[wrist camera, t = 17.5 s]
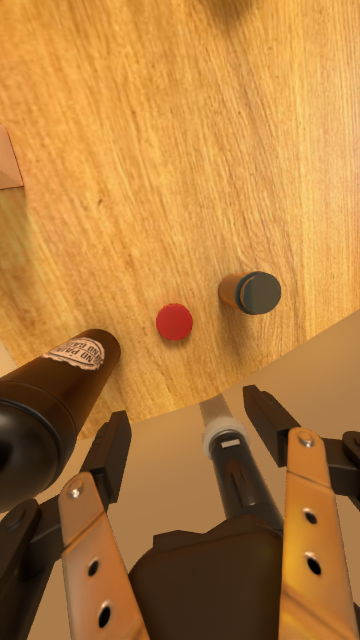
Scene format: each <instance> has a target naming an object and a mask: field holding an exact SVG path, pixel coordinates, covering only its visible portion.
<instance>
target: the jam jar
mask: <svg viewBox="0 0 360 640" xmlns="http://www.w3.org/2000/svg"><path fill="white" fill-rule="evenodd" d="M218 294H219V297H220V299H221V301H222V302H223V303H224V304H226V305H228V306H230V307H232V308H235V309H237V310H239V311H242V312H244V313H246V314H250V315H257V314H265V313H268V312H270V311H271V310H273V309H274V308H275V307H276V305H277V304H278V302H279V300H280V297H281V286H280V284H279V282H278V281H277V279H276V278H275V277H274V276H273V275H270V274H267V273H264V272H260V271H255V272H245V273H234V274H230V275H228V276H226V277H225V278H224V279H223V280H222V281H221V283H220V285H219V289H218Z"/></svg>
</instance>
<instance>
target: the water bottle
mask: <svg viewBox="0 0 360 640" xmlns="http://www.w3.org/2000/svg"><path fill="white" fill-rule="evenodd" d="M119 357H120V345H119V343H118V341H117V340H116V338H115V337H114V336H113V335H112V334H110V333H109V332H107V331H104V330H101V329H90V330H87V331H85V332H83V333H81V334H79V335H77V336H75V337H74V338H72V339H70V340H68V341H66V342H65V343H63V344H61V345H59V346H57V347H56V348H54V349H52V350H50V351H48V352H46V353H44V354H43V355H41V356H39V357H37V358H36V359H34V360H32V361H30V362H28V363H27V364H25V365H23V366H21V367H19V368H18V369H16V370H14V371H12V372H10V373H8V374H7V375H5V376H3V377H1V378H0V513H4V512H7V511H10V510H12V509H13V508H14V507H15V506H17V505H18V504H19V503H21V502H23V501H25V500H27V499H33V498H34V497H36V496H37V495H38V494H39V493H41V492H43V491H45V490H46V489H47V488H49V487H50V486H51V485H52V484H53V483H54V482H55V481H56V480H57V478H58V477H59V476H60V475H61V473H62V471H63V469H64V467H65V465H66V464H67V462H68V460H69V458H70V457H71V455H72V453H73V450H74V447H75V444H76V440H77V436H78V434H79V432H80V430H81V428H82V427H83V425H84V423H85V421H86V419H87V417H88V415H89V414H90V412H91V410H92V408H93V406H94V404H95V402H96V401H97V399H98V397H99V395H100V393H101V391H102V389H103V388H104V386H105V384H106V382H107V380H108V378H109V376H110V375H111V373H112V371H113V369H114V367H115V365H116V363H117V362H118V360H119Z"/></svg>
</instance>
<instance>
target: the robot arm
mask: <svg viewBox="0 0 360 640" xmlns="http://www.w3.org/2000/svg"><path fill="white" fill-rule="evenodd" d="M243 397H244V407H245V411H246V413H247V416H248V417H249V419H250V421H251V422H252V424H253V426H254V427H255V429H256V431H257V432H258V434H259V436H260V437H261V439H262V441H263V442H264V444H265V446H266V447H267V449H268V451H269V452H270V454H271V456H272V457H273V459H274V461H275V462H276V464H277V466H278V467H279V468H280V467H284V466H286V467H287V471H286V490H285V514H284V519H283V517H282V515H281V513H280V511H279V509H278V507H277V505H276V503H275V501H274V499H273V497H272V494H271V493H270V490H269V488H268V486H267V484H266V482H265V480H264V478H263V476H262V474H261V472H260V470H259V468H258V465H257V464H256V461H255V459H254V457H253V455H252V453H251V451H250V449H249V447H248V445H247V442H246V440H245V437H244V436H243V434H242V433H240V432H239V431H236V430H232V429H227V430H223V431H220V432H218V433H217V434H215V435H214V436H213V437H212V438H211V440H210V442H209V452H210V455H211V459H212V462H213V467H214V471H215V475H216V479H217V483H218V487H219V492H220V496H221V500H222V504H223V508H224V512H225V516H226V520H225V521H223V522H222V523H220V524H219V525H217V526H216V527H214V528H213V529H211V530H210V531H208V532H207V533H204V534H201V533H194V532H188V531H181V530H176V531H171V532H167V533H162V534H158V535H154V536H153V548H151V549H150V550H148V551H147V552H146V553H145V554H144V555H143V556H142V557H141V558H140V559H139V560H138V561H137V562H136V564H135V565H134V566H133V568H132V569H131V571H130V572H129V574H128V572H127V569H126V566H125V564H124V561H123V558H122V555H121V553H120V550H119V547H118V544H117V541H116V539H115V536H114V533H113V530H112V528H111V525H110V522H109V519H108V517H107V510H108V506H109V504H112V503H116V502H117V500H118V496H119V491H120V487H121V482H122V478H123V473H124V469H125V465H126V460H127V456H128V451H129V447H130V443H131V436H132V434H131V427H130V424H129V420H128V417H127V413H126V411H125V410H122V411H117V412H113V413H112V415H111V418H110V420H109V422H106V423H104V424H103V426H102V427H101V428H100V429H99V430H98V432H97V435H96V437H95V440H94V441H93V443H92V447H91V448H90V450H89V452H88V454H87V456H86V458H85V461H84V463H83V465H82V467H81V469H80V472H79V473H78V474H77V475H75V476H74V477H73V478H71V479H70V480H69V481H68V482H67V483H66V484H65V486H64V487H63V489H62V490H61V492H60V494H58V495H57V496H55V497H53V498H51V499H49V500H47V501H46V502H43V503H42V504H40V505H39V504H38V502H37V501H36V499H27V500H25V501H23V502H21V503H19V504H18V505H17V506H15V507H14V508H13V509H12V510H11V511H9V513H7V514H6V516H5V517H4V518H3V519H2V520H1V522H0V640H27V637H28V634H29V632H30V629H31V626H32V623H33V621H34V618H35V615H36V612H37V609H38V607H39V604H40V601H41V599H42V596H43V593H44V590H45V588H46V585H47V582H48V580H49V577H50V574H51V571H52V569H53V566H54V563H55V562H56V561H57V560H59V559H60V558H62V567H63V576H64V584H65V592H66V601H67V610H68V618H69V626H70V635H71V640H360V607H359V606H358V605H357V604H356V603H355V602H353V597H352V592H351V586H350V580H349V574H348V568H347V562H346V556H345V551H344V544H343V539H342V533H341V527H340V521H339V515H338V509H337V503H336V498H335V494H338V495H343V496H348V497H349V499H350V500H351V501H352V502H353V504H354V505H355V506H356V507H357V509H358V510H359V511H360V432H356V431H348V432H345V433H344V434H343V438H342V440H337V439H328V438H321V437H320V436H319V435H318V434H316V433H315V432H313V431H312V430H310V429H307V428H304V427H301V426H300V425H299V423H298V422H297V421H296V420H295V419H294V418H293V417H292V416H291V415H290V414H289V413H288V412H287V411H286V410H285V408H283V407H282V405H281V404H280V403H278V401H277V400H276V399H275V398H274V397H273V396H272V395H271V394H269V393H267V392H266V391H262V392H260V390H259V389H258V388H257V387H256V386H255V385H249V386H244V387H243Z"/></svg>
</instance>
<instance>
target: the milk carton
mask: <svg viewBox="0 0 360 640" xmlns="http://www.w3.org/2000/svg"><path fill="white" fill-rule="evenodd" d="M19 186H23V181H22V178H21V175H20V172H19V168H18V165H17V162H16V159H15V155H14V152H13V149H12V146H11V143H10V139H9V136H8V133H7V130H6V128H5V127H4V126H3V125H2V124H1V123H0V189H3V188H11V187H19Z"/></svg>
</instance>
